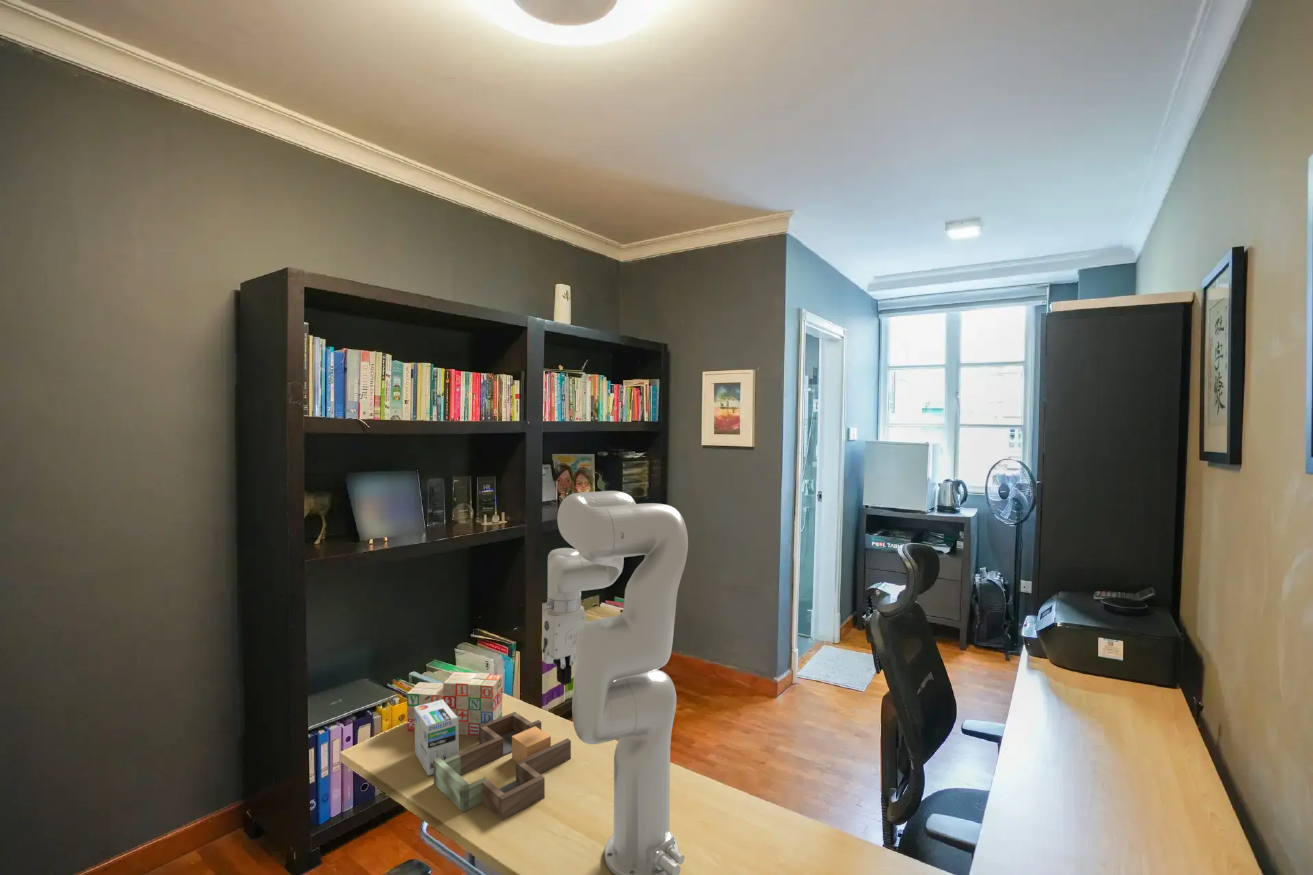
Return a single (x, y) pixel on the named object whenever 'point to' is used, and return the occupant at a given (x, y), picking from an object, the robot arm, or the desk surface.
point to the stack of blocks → (461, 699)
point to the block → (529, 743)
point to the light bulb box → (435, 733)
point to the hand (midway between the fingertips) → (564, 682)
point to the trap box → (494, 746)
